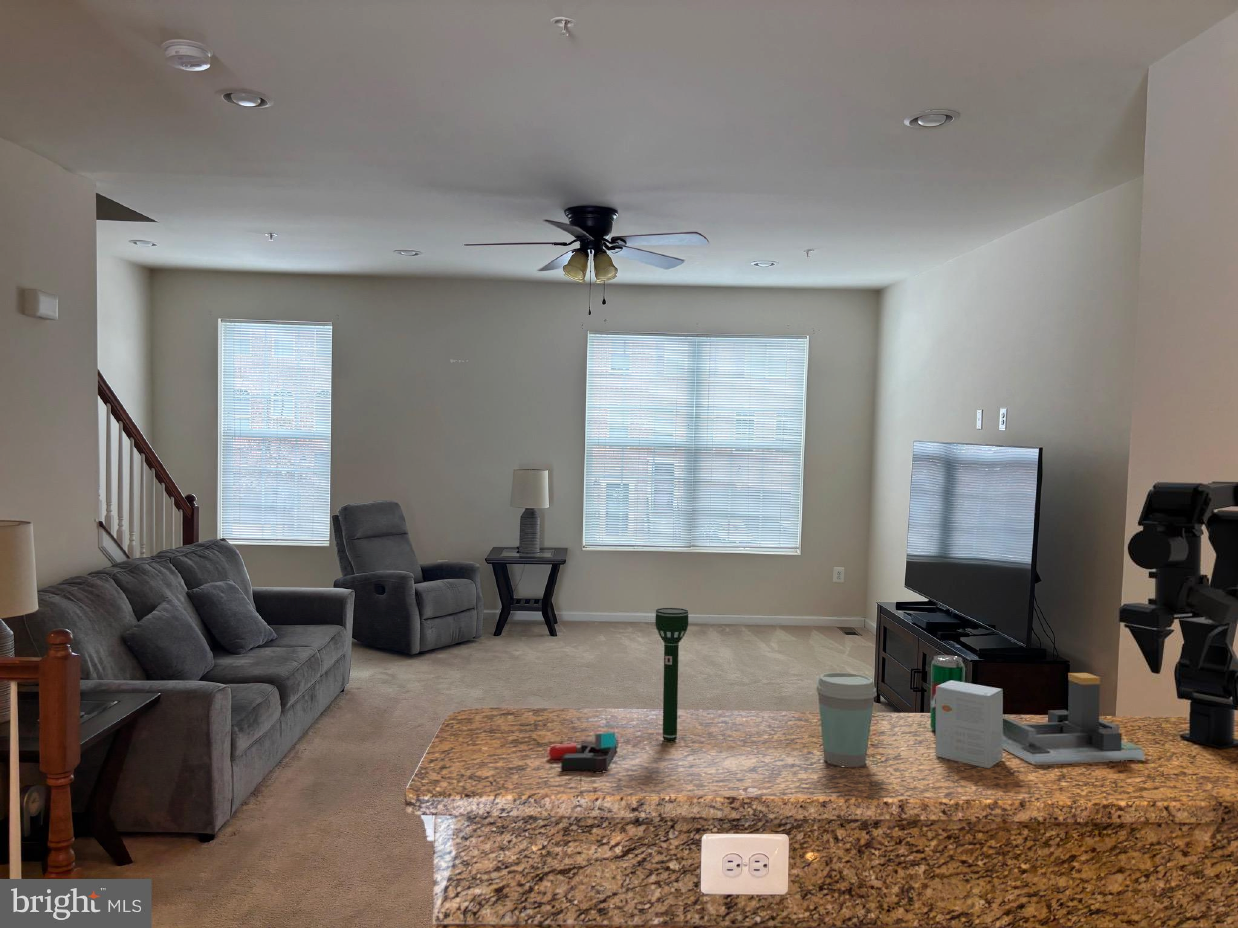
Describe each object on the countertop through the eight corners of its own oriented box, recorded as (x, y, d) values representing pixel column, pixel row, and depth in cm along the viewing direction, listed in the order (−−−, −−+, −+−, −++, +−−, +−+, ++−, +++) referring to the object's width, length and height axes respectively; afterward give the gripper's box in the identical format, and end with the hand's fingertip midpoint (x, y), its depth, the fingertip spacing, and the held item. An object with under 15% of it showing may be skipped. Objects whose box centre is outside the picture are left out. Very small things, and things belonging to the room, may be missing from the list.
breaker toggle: (1085, 731, 137) (1086, 671, 137) (1104, 739, 133) (1105, 678, 133) (1062, 732, 137) (1063, 672, 137) (1080, 740, 133) (1081, 678, 133)
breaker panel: (1082, 733, 142) (1083, 708, 142) (1144, 759, 129) (1144, 732, 129) (980, 737, 139) (981, 712, 139) (1033, 765, 126) (1034, 737, 126)
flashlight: (648, 742, 133) (650, 611, 133) (659, 733, 138) (662, 606, 138) (680, 747, 131) (682, 614, 131) (690, 737, 136) (692, 609, 136)
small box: (1003, 760, 128) (1004, 688, 128) (989, 769, 124) (990, 695, 124) (949, 747, 134) (950, 678, 134) (934, 756, 129) (935, 685, 129)
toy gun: (622, 750, 131) (623, 717, 131) (609, 778, 119) (609, 742, 119) (559, 746, 132) (560, 713, 132) (539, 772, 120) (540, 737, 120)
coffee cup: (879, 756, 129) (880, 675, 129) (870, 775, 121) (871, 688, 121) (821, 748, 132) (822, 668, 132) (808, 765, 124) (810, 680, 125)
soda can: (966, 737, 139) (967, 662, 139) (932, 735, 140) (934, 660, 140) (960, 728, 144) (961, 655, 144) (928, 726, 145) (929, 653, 145)
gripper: (1193, 574, 119) (1191, 689, 119) (1274, 570, 127) (1272, 678, 127) (1116, 565, 129) (1114, 671, 129) (1196, 562, 137) (1194, 662, 137)
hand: (1175, 670), depth 130 cm, fingers open, 9 cm apart
